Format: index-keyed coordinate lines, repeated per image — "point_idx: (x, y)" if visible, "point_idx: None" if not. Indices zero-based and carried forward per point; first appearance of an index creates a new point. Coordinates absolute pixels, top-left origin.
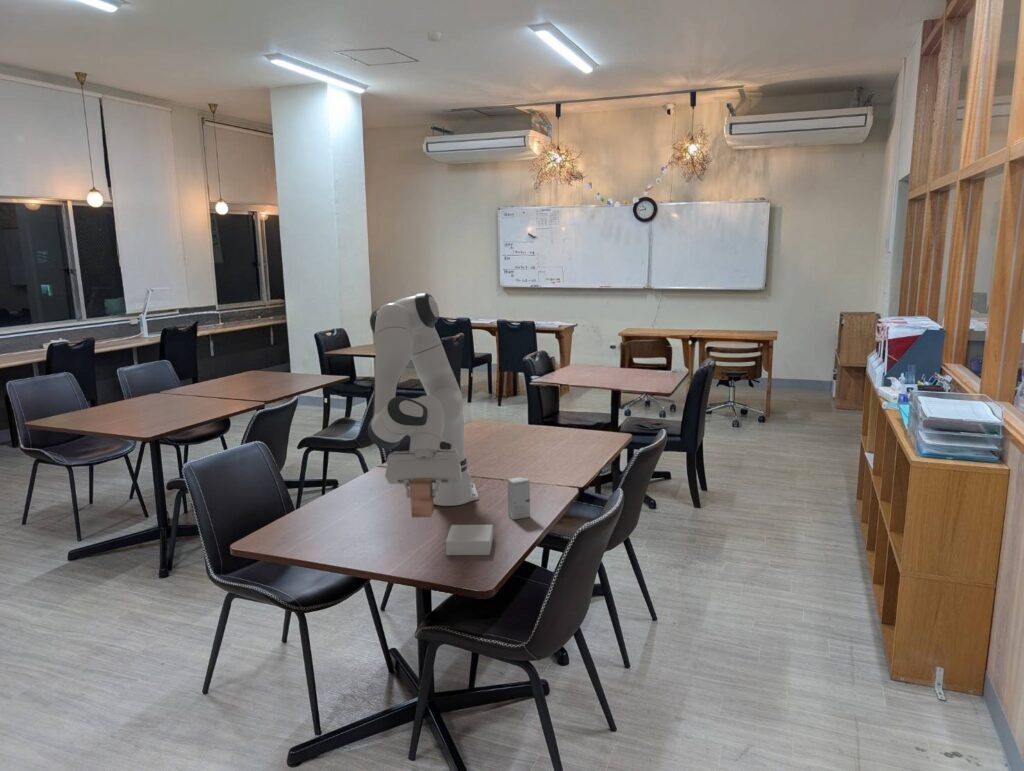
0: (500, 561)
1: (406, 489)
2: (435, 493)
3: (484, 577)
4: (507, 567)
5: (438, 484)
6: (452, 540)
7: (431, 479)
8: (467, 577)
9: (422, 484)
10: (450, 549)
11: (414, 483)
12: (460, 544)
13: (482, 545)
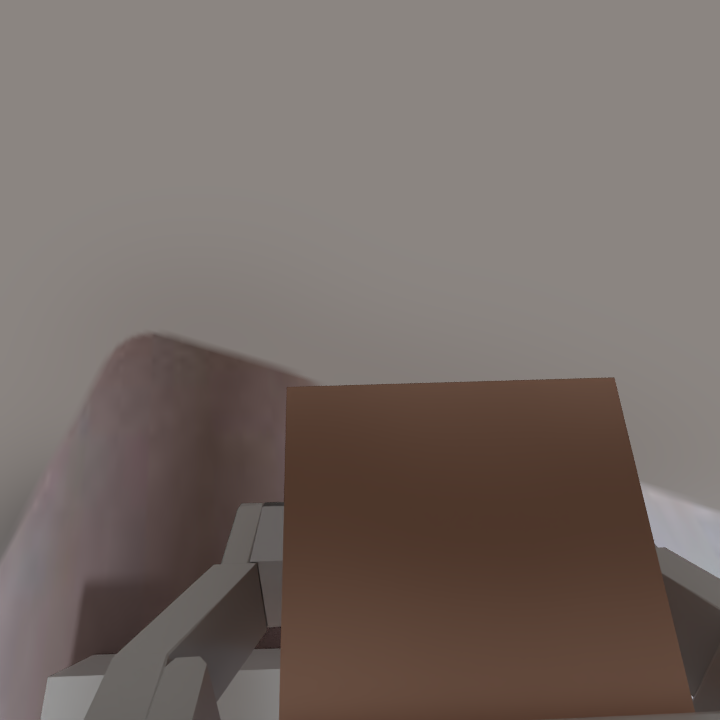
0: (51, 576)
1: (663, 550)
2: (244, 509)
3: (132, 420)
4: (30, 512)
5: (167, 626)
6: (257, 685)
7: (280, 700)
8: (197, 418)
9: (399, 384)
10: (278, 656)
11: (552, 425)
12: None
13: (100, 667)
